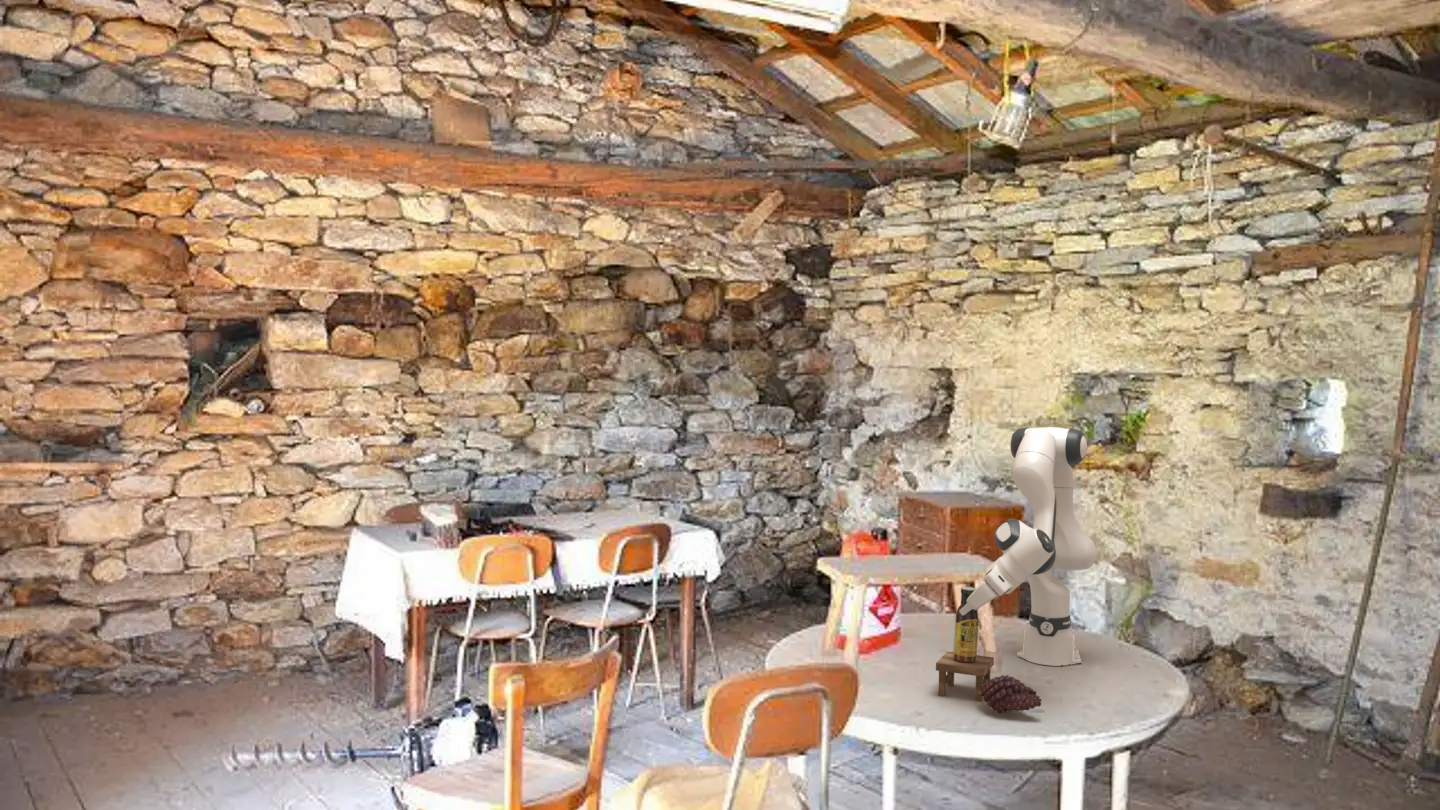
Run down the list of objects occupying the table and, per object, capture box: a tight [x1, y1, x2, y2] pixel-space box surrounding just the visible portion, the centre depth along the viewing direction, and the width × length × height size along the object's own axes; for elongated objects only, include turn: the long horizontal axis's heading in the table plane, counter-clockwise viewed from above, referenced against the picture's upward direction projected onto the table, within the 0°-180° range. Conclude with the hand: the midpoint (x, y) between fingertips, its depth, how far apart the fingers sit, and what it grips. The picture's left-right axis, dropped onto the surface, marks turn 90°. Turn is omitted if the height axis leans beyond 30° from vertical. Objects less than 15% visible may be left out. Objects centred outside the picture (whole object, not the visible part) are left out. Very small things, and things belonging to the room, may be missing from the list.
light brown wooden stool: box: [935, 651, 995, 703], centre depth 301 cm, size 13×13×9 cm
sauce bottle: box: [953, 586, 980, 662], centre depth 300 cm, size 7×6×20 cm
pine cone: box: [977, 675, 1042, 714], centre depth 284 cm, size 18×10×10 cm, turn 49°
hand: (965, 609), depth 300 cm, fingers open, 8 cm apart
